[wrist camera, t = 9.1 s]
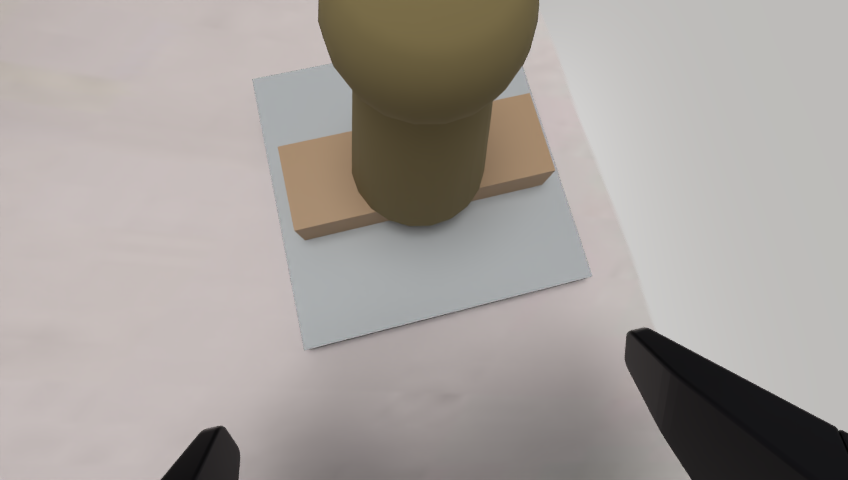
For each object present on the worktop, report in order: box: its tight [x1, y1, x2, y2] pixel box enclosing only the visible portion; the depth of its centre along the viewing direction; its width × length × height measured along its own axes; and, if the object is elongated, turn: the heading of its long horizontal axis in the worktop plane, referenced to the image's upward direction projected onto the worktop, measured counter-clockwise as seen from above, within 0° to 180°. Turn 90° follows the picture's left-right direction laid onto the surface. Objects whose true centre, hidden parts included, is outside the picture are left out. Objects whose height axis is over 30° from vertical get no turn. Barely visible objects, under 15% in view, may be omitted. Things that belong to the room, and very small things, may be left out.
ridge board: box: [252, 64, 592, 350], centre depth 21 cm, size 14×14×3 cm
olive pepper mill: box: [318, 0, 539, 226], centre depth 14 cm, size 6×6×11 cm
